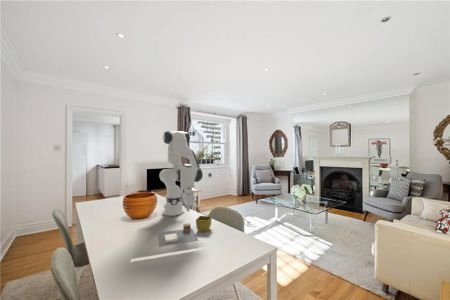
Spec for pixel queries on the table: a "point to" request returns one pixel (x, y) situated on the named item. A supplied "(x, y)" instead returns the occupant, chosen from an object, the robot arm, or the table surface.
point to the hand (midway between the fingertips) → (187, 209)
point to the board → (182, 237)
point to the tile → (171, 238)
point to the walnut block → (187, 227)
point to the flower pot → (203, 223)
